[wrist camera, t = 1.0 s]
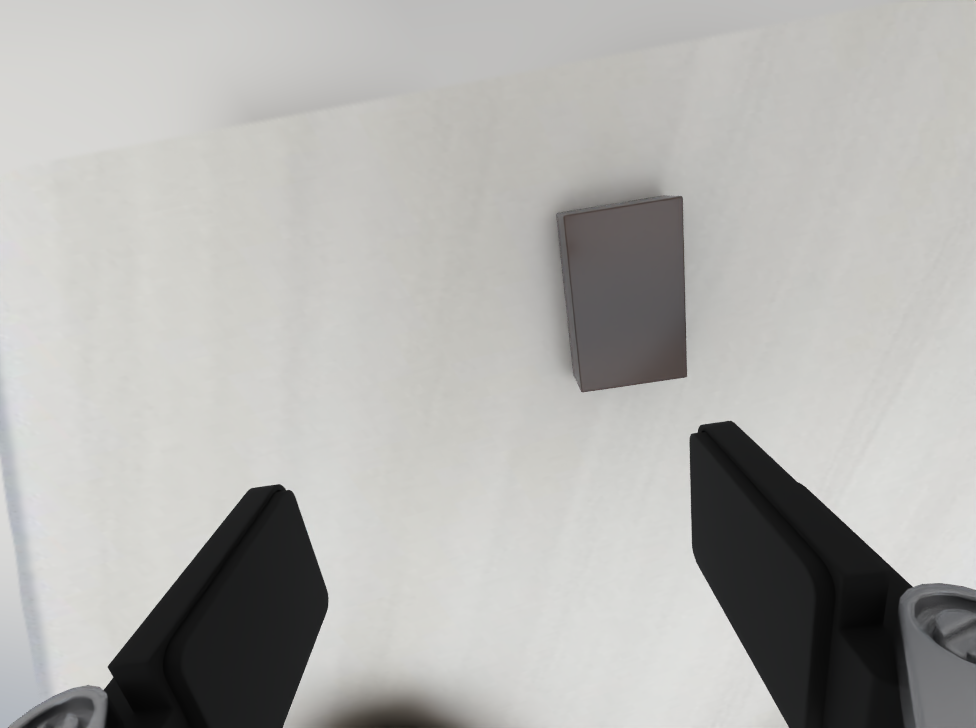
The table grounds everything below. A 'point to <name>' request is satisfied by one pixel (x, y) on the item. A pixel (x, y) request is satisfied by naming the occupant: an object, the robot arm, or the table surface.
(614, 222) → the walnut block
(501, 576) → the table surface
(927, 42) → the table surface
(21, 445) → the table surface
